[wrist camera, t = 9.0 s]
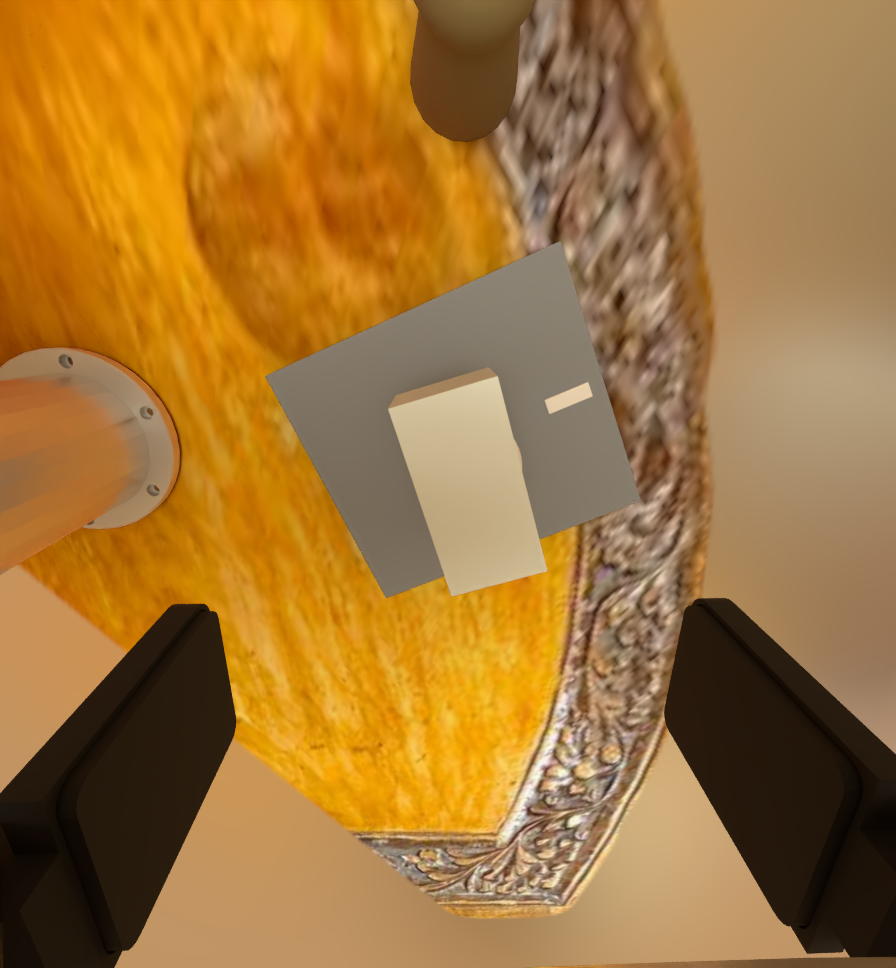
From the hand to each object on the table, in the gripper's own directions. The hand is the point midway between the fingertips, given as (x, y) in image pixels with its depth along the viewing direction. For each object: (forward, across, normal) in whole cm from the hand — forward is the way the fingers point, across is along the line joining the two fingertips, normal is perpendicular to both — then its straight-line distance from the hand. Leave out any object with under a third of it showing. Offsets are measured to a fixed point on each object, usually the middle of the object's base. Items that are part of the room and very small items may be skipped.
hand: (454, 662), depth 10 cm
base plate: (+25, -2, +1) cm, 25 cm away
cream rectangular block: (+20, -2, +2) cm, 20 cm away
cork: (+25, -1, -19) cm, 32 cm away
